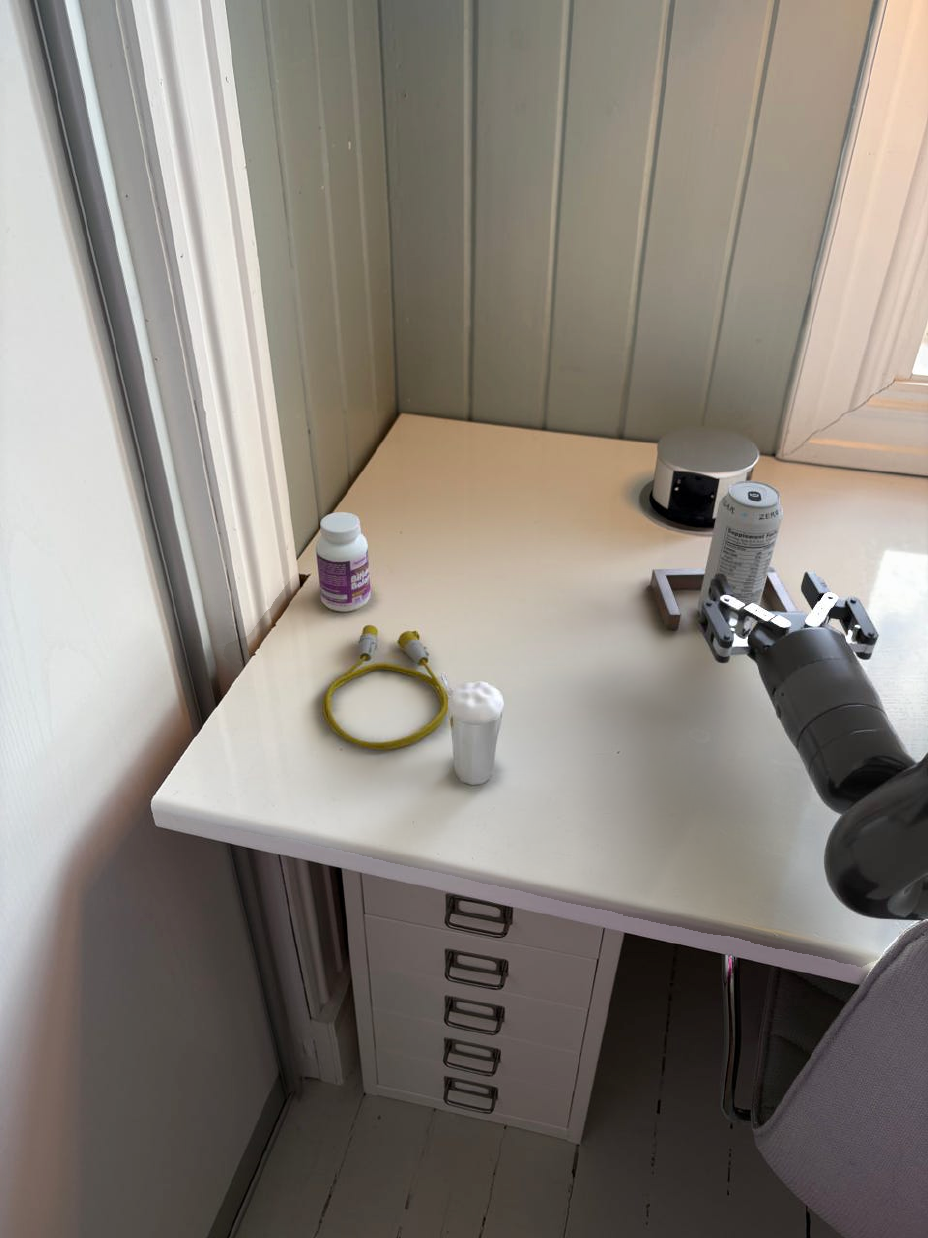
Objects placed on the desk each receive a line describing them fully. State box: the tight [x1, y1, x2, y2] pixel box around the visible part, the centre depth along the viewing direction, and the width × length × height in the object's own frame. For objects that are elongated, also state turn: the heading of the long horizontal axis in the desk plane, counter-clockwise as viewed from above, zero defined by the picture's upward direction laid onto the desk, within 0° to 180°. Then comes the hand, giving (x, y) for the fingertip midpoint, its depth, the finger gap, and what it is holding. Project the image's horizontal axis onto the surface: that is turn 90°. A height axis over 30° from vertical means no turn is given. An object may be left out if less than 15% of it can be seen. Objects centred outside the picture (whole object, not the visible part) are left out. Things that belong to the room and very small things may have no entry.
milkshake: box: [440, 672, 505, 786], centre depth 77 cm, size 4×5×10 cm
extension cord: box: [322, 624, 449, 751], centre depth 87 cm, size 12×16×2 cm
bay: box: [649, 566, 798, 631], centre depth 99 cm, size 8×13×2 cm, turn 93°
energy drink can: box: [697, 480, 784, 624], centre depth 93 cm, size 6×6×15 cm
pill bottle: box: [315, 511, 371, 613], centre depth 97 cm, size 5×5×10 cm
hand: (761, 580), depth 87 cm, fingers open, 8 cm apart
